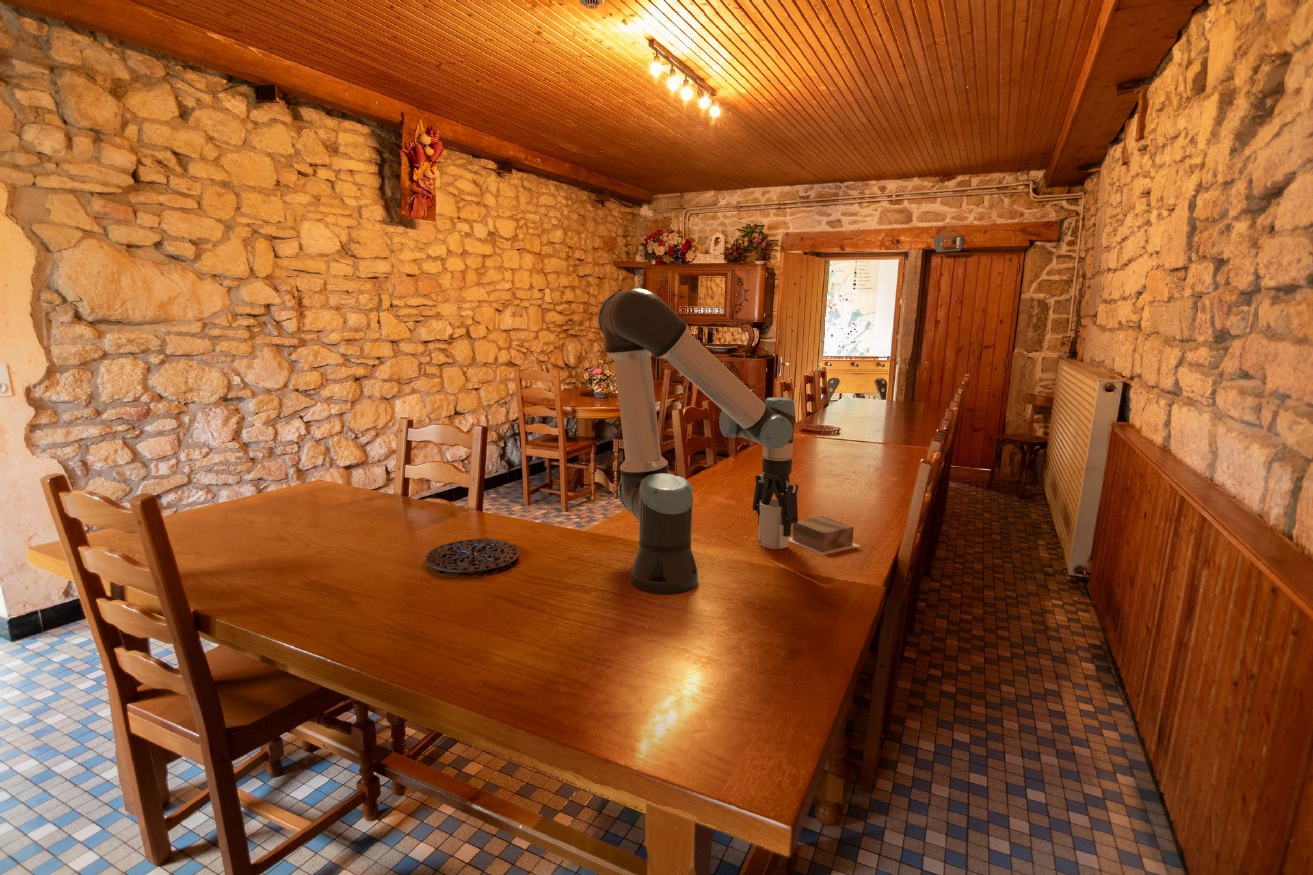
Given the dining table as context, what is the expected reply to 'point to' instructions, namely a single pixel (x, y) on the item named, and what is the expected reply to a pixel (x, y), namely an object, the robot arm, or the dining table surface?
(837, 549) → the mat
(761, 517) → the cup
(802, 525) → the base block
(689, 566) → the robot arm
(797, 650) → the dining table surface
